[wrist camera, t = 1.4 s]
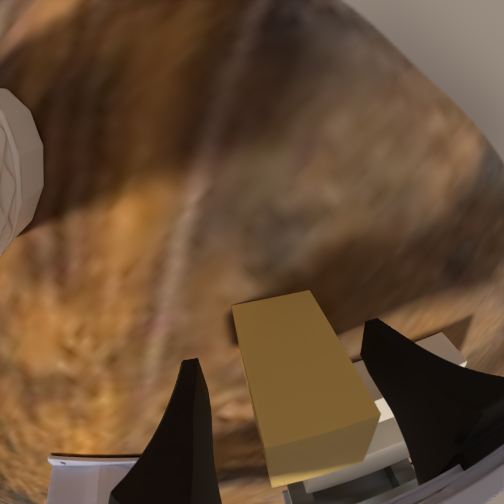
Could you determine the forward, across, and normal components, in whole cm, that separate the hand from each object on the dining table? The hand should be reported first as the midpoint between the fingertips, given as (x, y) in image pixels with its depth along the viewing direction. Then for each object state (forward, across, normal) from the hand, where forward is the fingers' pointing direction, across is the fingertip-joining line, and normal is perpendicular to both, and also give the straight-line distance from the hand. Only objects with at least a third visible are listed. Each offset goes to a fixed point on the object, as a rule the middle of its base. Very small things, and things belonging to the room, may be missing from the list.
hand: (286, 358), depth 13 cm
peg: (+2, 0, 0) cm, 2 cm away
